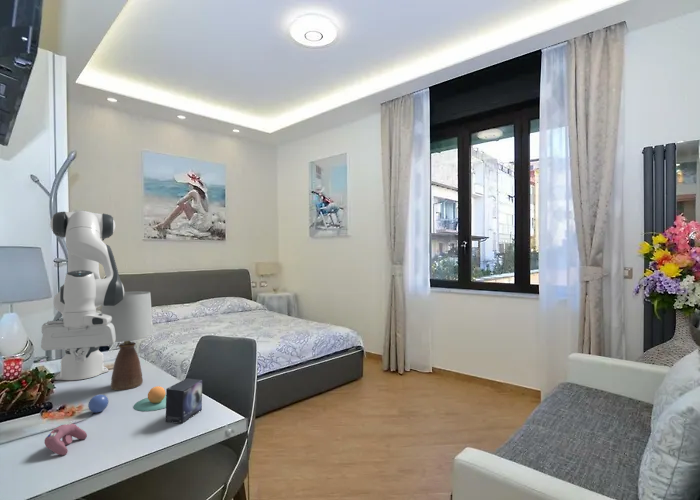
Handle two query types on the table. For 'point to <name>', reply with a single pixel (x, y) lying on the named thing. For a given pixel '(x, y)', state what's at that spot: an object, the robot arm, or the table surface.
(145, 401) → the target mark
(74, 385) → the table surface
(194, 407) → the small box
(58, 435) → the video game controller
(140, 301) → the lamp
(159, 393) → the object ball
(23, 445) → the table surface
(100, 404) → the blue ball
